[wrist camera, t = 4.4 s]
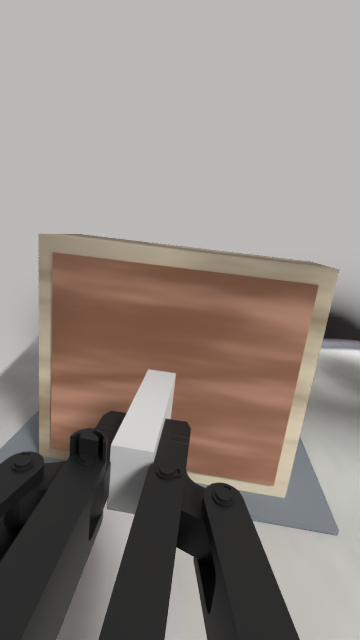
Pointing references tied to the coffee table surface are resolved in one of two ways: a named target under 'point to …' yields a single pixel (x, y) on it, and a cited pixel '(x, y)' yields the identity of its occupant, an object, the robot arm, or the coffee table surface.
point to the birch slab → (183, 347)
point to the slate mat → (293, 511)
